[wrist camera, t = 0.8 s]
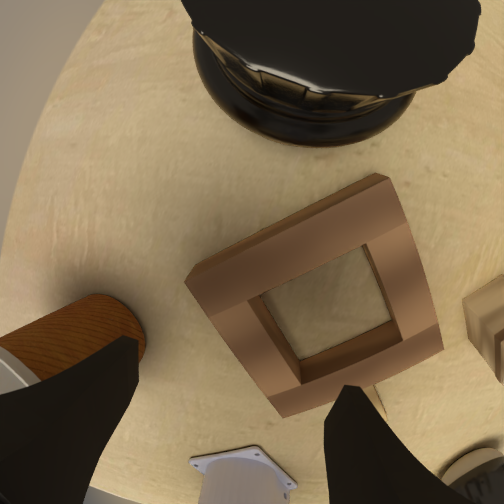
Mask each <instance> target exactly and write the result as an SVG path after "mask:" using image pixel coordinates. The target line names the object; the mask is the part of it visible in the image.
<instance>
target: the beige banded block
mask: <svg viewBox="0 0 504 504" xmlns="http://www.w3.org/2000/svg"><path fill="white" fill-rule="evenodd" d="M462 303H463V308H464V314H465V320H466V326H467V333H468V339H469V340H470V341H471V343H472V344H473V345H474V346H475V348H476V349H477V350H478V352H479V353H480V354H481V356H482V357H483V358H484V360H485V361H486V362H487V364H488V365H489V366H490V368H491V369H492V371H493V372H494V373H495V376H496V378H497V379H498V381H499V382H500V383H502V385H503V386H504V276H503V275H502V274H501V275H500V276H498V277H497V278H495V279H494V280H492V281H491V282H489V283H488V284H486V285H485V286H483V287H482V288H480V289H479V290H477V291H475V292H474V293H472V294H471V295H469V296H467V297H466V298H464V299H462Z"/></svg>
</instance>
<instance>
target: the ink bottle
mask: <svg viewBox="0 0 504 504" xmlns="http://www.w3.org/2000/svg"><path fill="white" fill-rule="evenodd" d="M181 2H182V4H183V6H184V8H185V9H186V11H187V13H188V15H189V16H190V18H191V19H192V22H191V24H192V26H193V53H194V59H195V63H196V67H197V70H198V73H199V75H200V78H201V80H202V82H203V84H204V86H205V88H206V90H207V91H208V93H209V94H210V96H211V97H212V99H213V100H214V101H215V102H216V104H217V105H218V106H219V107H220V108H221V109H222V110H223V111H224V112H225V113H226V114H227V115H228V116H229V117H231V118H232V119H233V120H234V121H236V122H237V123H238V124H240V125H242V126H243V127H245V128H246V129H248V130H250V131H252V132H254V133H256V134H258V135H260V136H262V137H264V138H266V139H268V140H271V141H274V142H277V143H280V144H284V145H289V146H296V147H305V148H331V147H340V146H345V145H350V144H354V143H358V142H361V141H363V140H366V139H369V138H371V137H373V136H375V135H377V134H379V133H381V132H382V131H384V130H385V129H387V128H388V127H389V126H391V125H392V124H393V123H394V122H396V121H397V120H398V119H399V118H400V116H401V115H402V114H403V113H404V112H405V111H406V109H407V108H408V106H409V105H410V103H411V102H412V100H413V98H414V96H415V94H416V91H419V90H422V89H425V88H428V87H431V86H435V85H438V84H440V83H442V82H444V81H445V80H446V79H447V78H448V74H449V73H450V72H451V71H452V70H453V69H454V68H455V67H456V66H457V65H458V64H459V63H460V62H461V61H462V60H463V59H464V58H465V57H466V56H468V55H470V54H471V53H472V52H473V50H474V47H475V42H474V40H475V36H476V31H477V26H478V20H479V16H480V15H481V5H480V2H479V1H478V0H181Z"/></svg>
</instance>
